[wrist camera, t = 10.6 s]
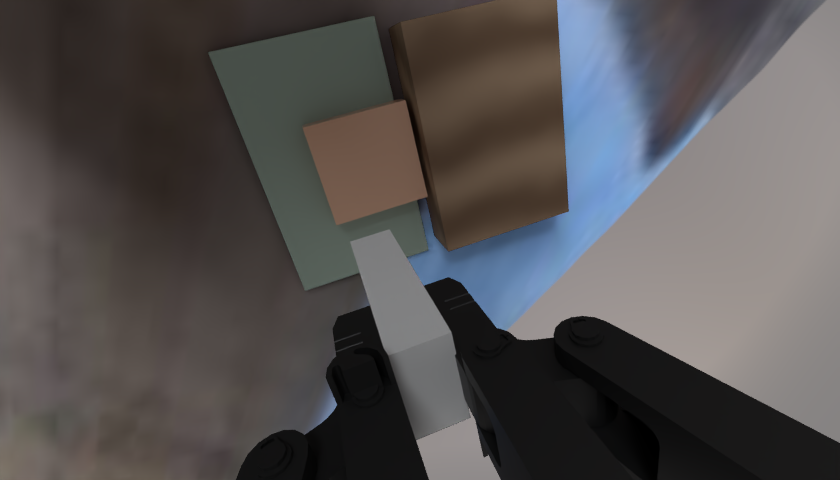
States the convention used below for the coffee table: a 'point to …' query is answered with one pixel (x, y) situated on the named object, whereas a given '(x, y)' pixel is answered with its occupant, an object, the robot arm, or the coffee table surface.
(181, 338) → the coffee table surface
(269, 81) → the sage mat
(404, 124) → the terracotta tile
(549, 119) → the block
